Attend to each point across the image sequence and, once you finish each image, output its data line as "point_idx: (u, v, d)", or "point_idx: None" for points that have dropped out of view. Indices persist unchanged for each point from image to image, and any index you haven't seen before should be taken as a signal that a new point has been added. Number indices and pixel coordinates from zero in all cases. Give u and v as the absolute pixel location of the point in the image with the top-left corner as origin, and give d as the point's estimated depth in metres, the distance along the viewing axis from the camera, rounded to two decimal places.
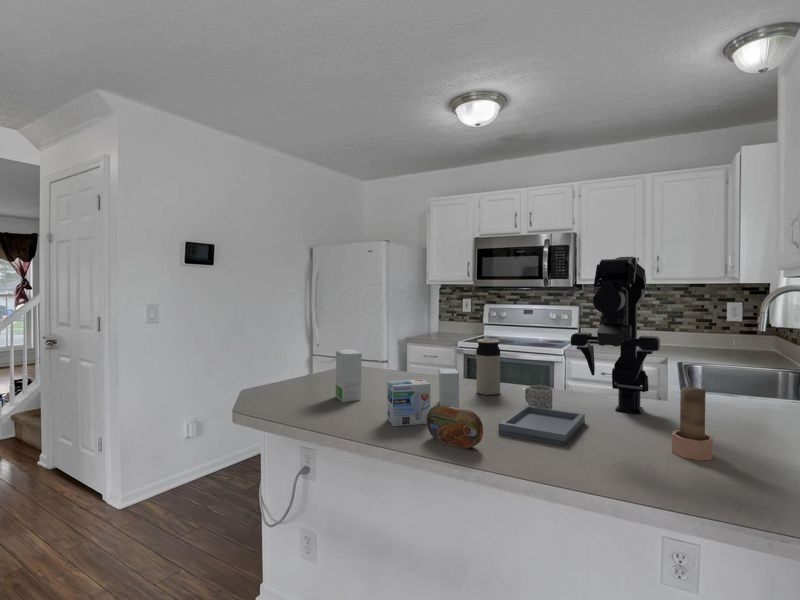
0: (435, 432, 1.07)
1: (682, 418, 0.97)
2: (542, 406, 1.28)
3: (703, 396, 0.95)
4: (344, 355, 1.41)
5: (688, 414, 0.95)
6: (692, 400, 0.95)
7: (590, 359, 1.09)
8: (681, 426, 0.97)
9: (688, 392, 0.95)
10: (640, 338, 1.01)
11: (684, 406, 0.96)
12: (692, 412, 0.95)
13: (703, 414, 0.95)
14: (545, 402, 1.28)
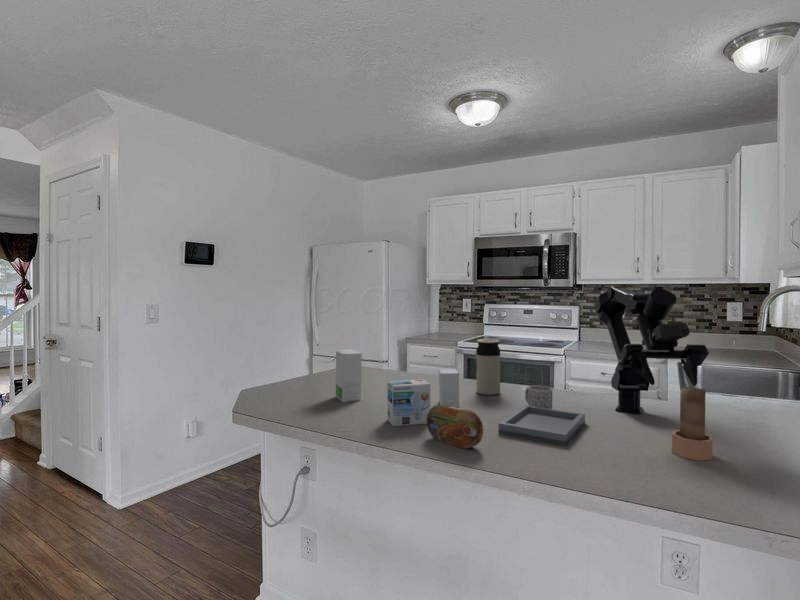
0: (435, 432, 1.07)
1: (682, 418, 0.97)
2: (542, 406, 1.28)
3: (703, 396, 0.95)
4: (344, 355, 1.41)
5: (688, 414, 0.95)
6: (692, 400, 0.95)
7: (648, 366, 1.07)
8: (681, 426, 0.97)
9: (688, 392, 0.95)
10: (689, 344, 1.09)
11: (684, 406, 0.96)
12: (692, 412, 0.95)
13: (703, 414, 0.95)
14: (545, 402, 1.28)
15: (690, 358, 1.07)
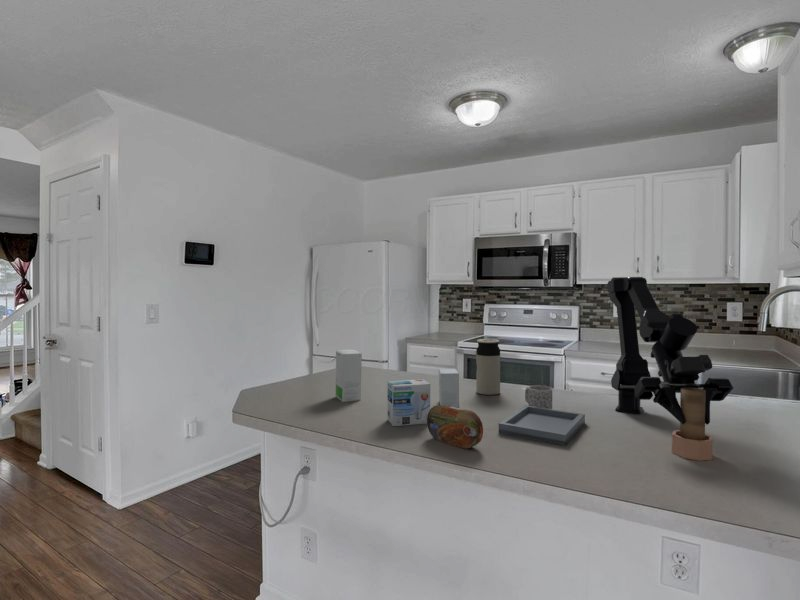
0: (435, 432, 1.07)
1: None
2: (542, 406, 1.28)
3: (703, 396, 0.95)
4: (344, 355, 1.41)
5: (688, 414, 0.95)
6: (692, 400, 0.95)
7: (677, 403, 0.97)
8: (681, 426, 0.97)
9: (688, 392, 0.95)
10: (711, 378, 1.00)
11: (684, 406, 0.96)
12: (692, 412, 0.95)
13: (703, 414, 0.95)
14: (545, 402, 1.28)
15: None
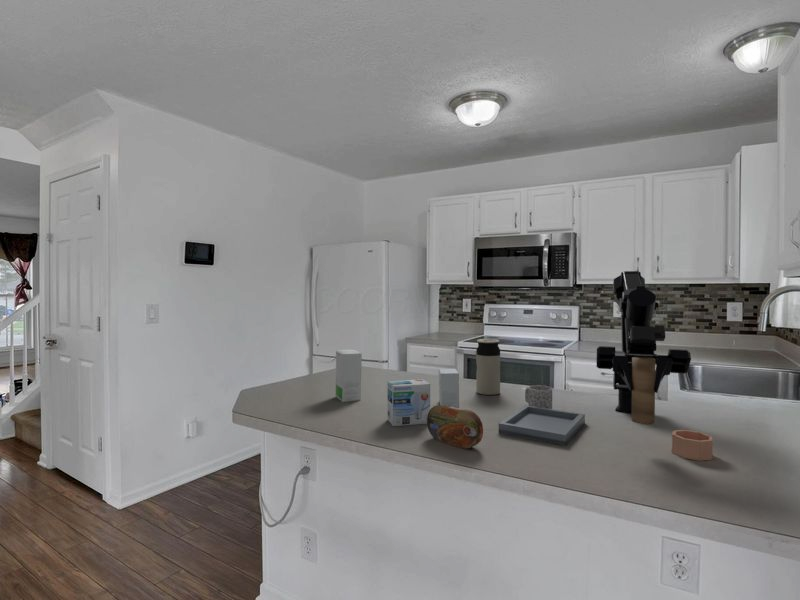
0: (435, 432, 1.07)
1: (632, 386, 0.99)
2: (542, 406, 1.28)
3: (651, 364, 0.97)
4: (344, 355, 1.41)
5: (635, 381, 0.98)
6: (638, 368, 0.97)
7: (628, 371, 1.00)
8: None
9: (635, 360, 0.98)
10: (670, 349, 1.00)
11: (633, 374, 0.99)
12: (639, 380, 0.97)
13: (650, 382, 0.97)
14: (545, 402, 1.28)
15: (657, 363, 0.99)
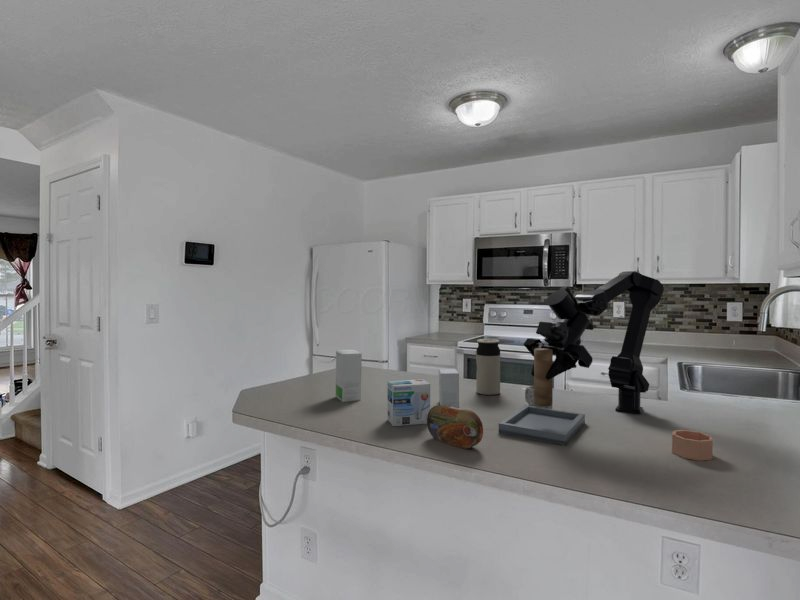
0: (435, 432, 1.07)
1: None
2: (542, 406, 1.28)
3: (541, 354, 1.12)
4: (344, 355, 1.41)
5: (534, 368, 1.15)
6: (534, 357, 1.14)
7: None
8: None
9: (534, 350, 1.15)
10: (572, 344, 1.11)
11: None
12: (534, 367, 1.14)
13: (541, 369, 1.12)
14: None
15: None
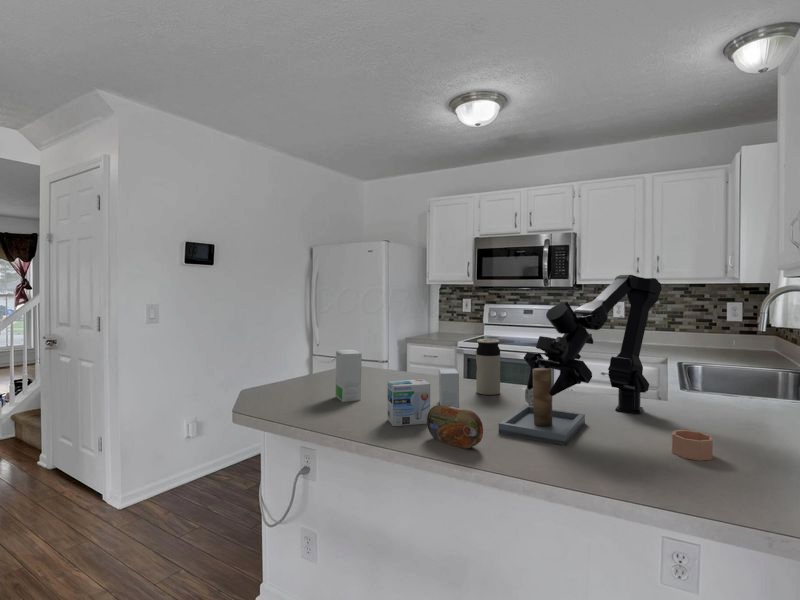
0: (435, 432, 1.07)
1: None
2: None
3: (540, 374, 1.13)
4: (344, 355, 1.41)
5: (533, 388, 1.16)
6: (533, 377, 1.15)
7: (532, 373, 1.19)
8: None
9: None
10: (572, 359, 1.11)
11: None
12: (533, 387, 1.15)
13: (540, 390, 1.13)
14: None
15: None
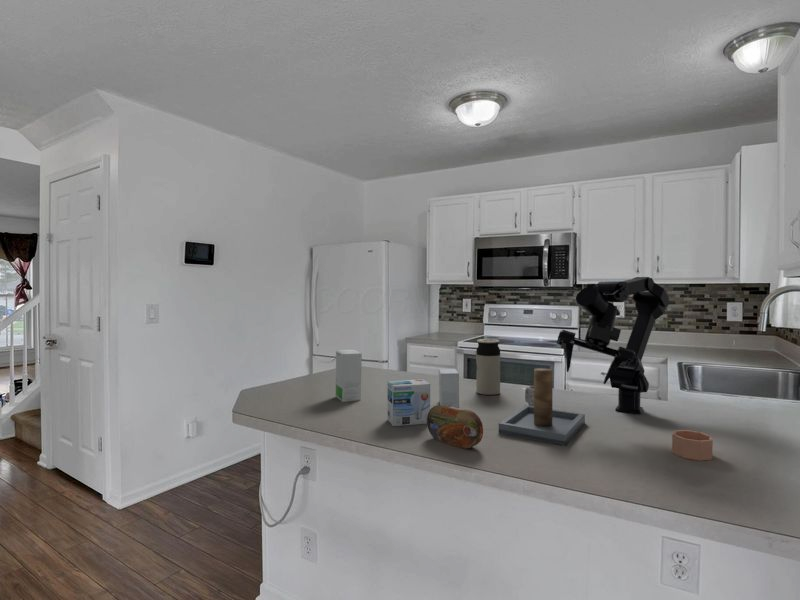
0: (435, 432, 1.07)
1: None
2: None
3: (541, 375, 1.13)
4: (344, 355, 1.41)
5: (534, 388, 1.15)
6: (534, 377, 1.15)
7: (570, 355, 1.18)
8: None
9: (534, 370, 1.15)
10: (620, 347, 1.15)
11: None
12: (534, 387, 1.15)
13: (541, 390, 1.13)
14: None
15: (613, 360, 1.15)
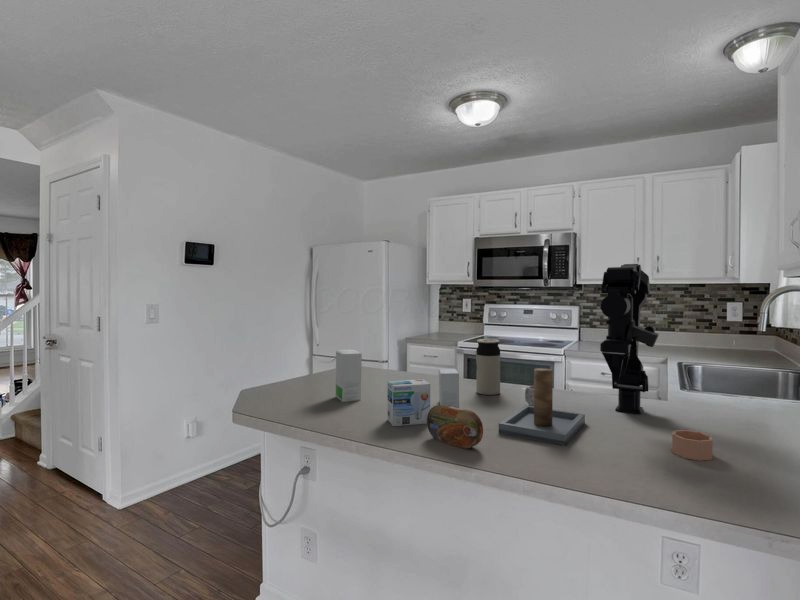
0: (435, 432, 1.07)
1: None
2: None
3: (541, 375, 1.13)
4: (344, 355, 1.41)
5: (534, 388, 1.15)
6: (534, 377, 1.15)
7: (622, 364, 1.11)
8: None
9: (534, 370, 1.15)
10: None
11: None
12: (534, 387, 1.15)
13: (541, 390, 1.13)
14: None
15: (630, 350, 1.18)
